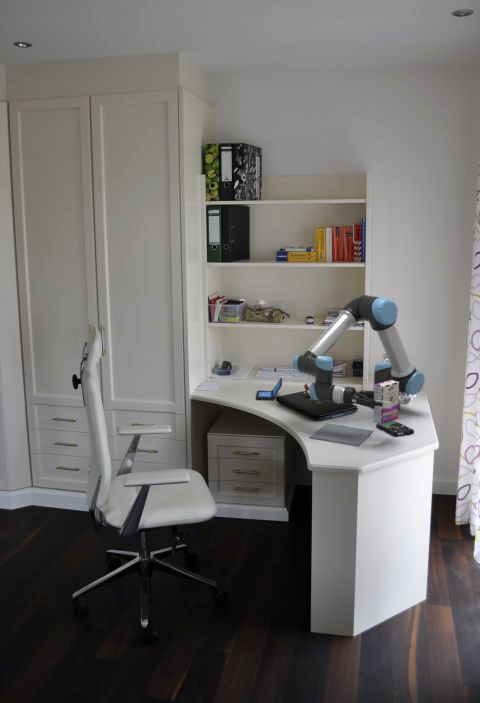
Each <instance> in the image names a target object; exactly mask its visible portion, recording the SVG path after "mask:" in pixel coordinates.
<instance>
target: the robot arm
mask: <svg viewBox="0 0 480 703" xmlns="http://www.w3.org/2000/svg"><path fill="white" fill-rule="evenodd" d="M398 312H399V310H398V307H397V304H396V303H395V301H394V300H393V299H390V298H387V297H384V296H381V297H379V296H373V295H367V294H362V295H359V296H356V297H354V299H352V300H350V301H349V302H348V303H346V304H345V305H344V306H343V307H341V309H340V310H339V312H338V314H339V315H337V317H336V318H335V319H334V320H333V321H332V322H331V323H330V325H329V326H328V327H327V328H326V329H325V330H324V331H323V332H322V333H321V335H320V336H319V337H318V338H317V339H316V340H315V341H314V342H313V344H311V346H310V347H309V348H308V349H307V350H306V351H305V352H304V353H303V354H297V355H296V356H295V357H294V358H293V359H292V367H293V369H294V370H295V371H297V372H300V373H303V374H306V375H310V376H313V377H314V379H315V380H314V381H315V382H312V383H311V384H310V386H309V389H310V390H309V395H310V399H312V400H315V401H319V402H327V403H328V402H329V403H335V404H337V405H340V404H344V405H354V404H355V405H359V406H364V407H366V408H370V409H372V410H374V408H375V407H382V408H390V409H391V402H389V401H381V400H375V401H374V390H363V389H362V390H360V391H356V388H355V387H353V386H345V385H337V384H333V377H334V359H333V358H332V357H331V356H329V355H327V354H328V353H329V352H330V350H331V349H332V348H333V347H334V346H335V345H336V343H337V342H339V341H340V339H341V338H342V337H343V336H344V335H345V334H346V332H348V330H349V329H351V327H352V326H356V324H358V323H359V322H361V321H366V322H369V326H370V327H371V329H372V330H373V331H374V332H376V333H377V334H378V337H379V340H380V342H381V344H382V347H383V350H384V352H385V354H386V357H387V359H388V361H382V362H378V363H376V364H375V365H374V370H373V385H374V384H378V383H382V382H386V381H390V380H393V381H397V382H399V393H402V394H407V395H411V396H414V395H418V393H420V392H421V391H422V389H423V387H424V384H425V380H426V379H425V378H426V377H425V374H424V373H423V372H422V371H418V370H417V368H416V366H415V364H414V362H412V361H410V360H409V357H408V354H407V351H406V349H405V347H404V345H403V342H402V340H401V337H400V334H399V333H398V330H397V328H396V325H395V324H396V323H397V318H398ZM326 355H327V356H326ZM400 409H401V402H400V401H399V405H398V411H399V410H400Z"/></svg>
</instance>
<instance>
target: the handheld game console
mask: <svg viewBox="0 0 480 703" xmlns="http://www.w3.org/2000/svg"><path fill="white" fill-rule="evenodd" d="M282 386H283V377H280V379H279V380H278V381H277V383H276V385H275V386H274V387H273V389H272V390H257V391H256V397H255V400H256V401H269V402H270V401H274V400H275V397H276V395H277V393H278V392H279V390H280V389H281V388H282Z"/></svg>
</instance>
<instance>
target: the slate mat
mask: <svg viewBox="0 0 480 703" xmlns="http://www.w3.org/2000/svg"><path fill="white" fill-rule="evenodd" d="M372 434H374V430H371V429H366V428H361V427H360V428H359V427H353V426H347V425H346V426H345V425H339V424H333V423H328V422H327V423H325V424H324V425H322V426H321V427H320V428H318V429H317V430H316V431H315V432H314V433H312V434H311V435H310V436H308V438H309V439H312V440H319V441H324V442H329V443H334V444H336V443H337V444H342V445H348V446H355V447H360V446H361V445H362V444H363V443H364V442H365V441H366V440H367V439H368V438H369V437H370V436H371V435H372Z"/></svg>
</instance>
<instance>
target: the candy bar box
mask: <svg viewBox="0 0 480 703" xmlns="http://www.w3.org/2000/svg"><path fill="white" fill-rule="evenodd" d="M373 391H374V401H375V400H381V401H389V402H391V409H390V408H382V407H375V408H374V409H373V414H372V415H373V416H372V418H373V419H372V421H373V423H376V424H377V423H380V424H384V423H387V422H390V421H396V420H398V419H399V410H398V405H399V402H400V392H399V382H397V381H393V380H390V381H386V382H382V383H378V384H374V383H373Z"/></svg>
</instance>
